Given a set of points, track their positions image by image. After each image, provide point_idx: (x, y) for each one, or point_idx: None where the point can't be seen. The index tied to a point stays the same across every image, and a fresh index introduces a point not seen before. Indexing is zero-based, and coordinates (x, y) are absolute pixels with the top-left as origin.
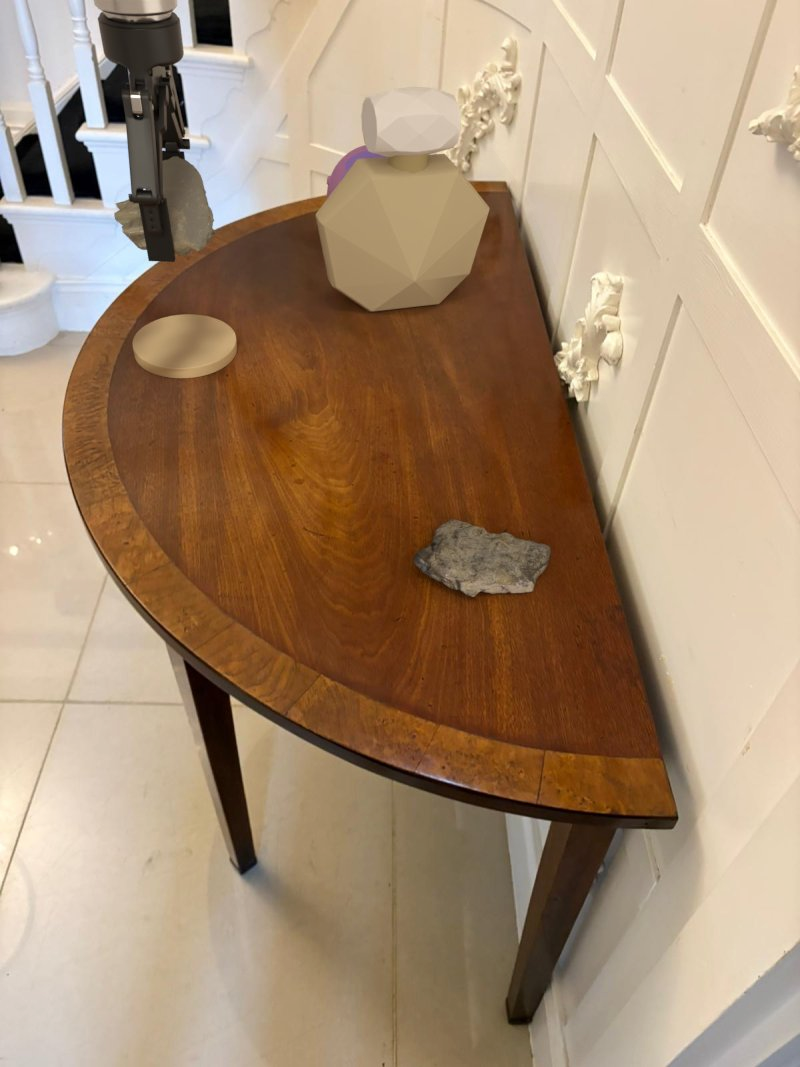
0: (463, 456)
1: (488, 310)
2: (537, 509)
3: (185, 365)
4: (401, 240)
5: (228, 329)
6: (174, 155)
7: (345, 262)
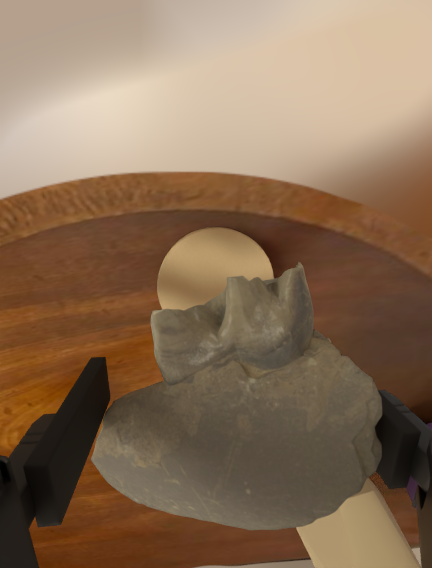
0: (69, 517)
1: None
2: None
3: (164, 296)
4: (316, 557)
5: None
6: (390, 464)
7: None
